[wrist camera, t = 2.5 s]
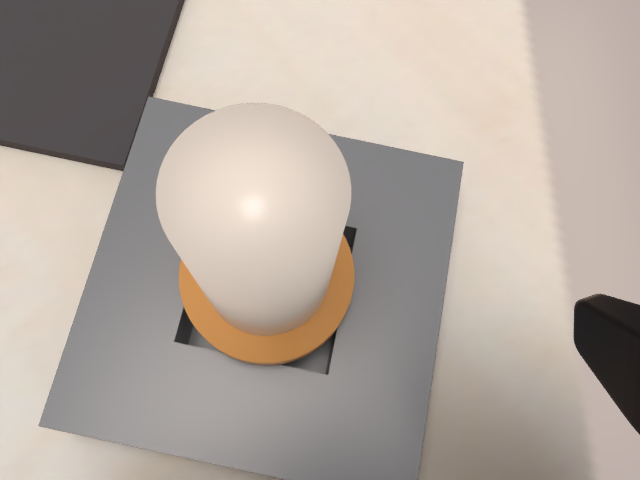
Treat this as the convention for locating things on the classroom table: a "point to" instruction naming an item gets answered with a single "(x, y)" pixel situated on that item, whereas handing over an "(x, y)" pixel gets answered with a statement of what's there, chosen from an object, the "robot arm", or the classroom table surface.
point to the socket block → (255, 380)
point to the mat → (80, 74)
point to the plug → (259, 231)
